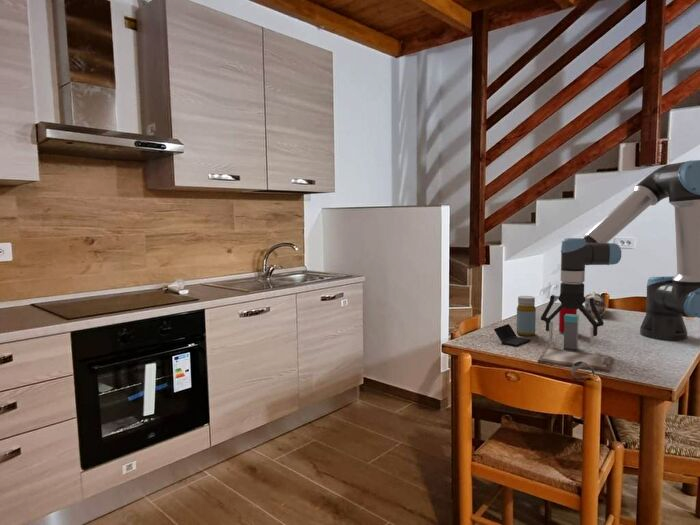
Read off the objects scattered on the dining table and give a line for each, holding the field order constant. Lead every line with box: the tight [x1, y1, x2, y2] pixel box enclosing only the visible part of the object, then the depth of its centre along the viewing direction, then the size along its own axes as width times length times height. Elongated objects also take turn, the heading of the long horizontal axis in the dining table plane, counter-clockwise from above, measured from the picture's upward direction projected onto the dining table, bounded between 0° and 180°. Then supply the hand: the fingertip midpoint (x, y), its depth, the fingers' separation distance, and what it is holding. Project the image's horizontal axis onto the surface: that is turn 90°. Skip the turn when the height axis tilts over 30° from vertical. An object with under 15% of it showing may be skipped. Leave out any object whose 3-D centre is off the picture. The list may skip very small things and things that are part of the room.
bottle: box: [516, 295, 537, 337], centre depth 183 cm, size 7×7×15 cm
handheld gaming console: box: [493, 323, 531, 348], centre depth 173 cm, size 12×7×10 cm
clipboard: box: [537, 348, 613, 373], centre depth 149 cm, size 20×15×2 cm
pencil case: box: [583, 291, 607, 319], centre depth 219 cm, size 22×8×10 cm, turn 154°
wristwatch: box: [570, 361, 596, 380], centre depth 133 cm, size 4×6×5 cm, turn 85°
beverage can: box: [558, 302, 578, 335], centre depth 184 cm, size 6×6×12 cm
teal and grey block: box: [563, 314, 580, 352], centre depth 162 cm, size 4×4×12 cm
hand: (570, 342), depth 163 cm, fingers open, 12 cm apart
